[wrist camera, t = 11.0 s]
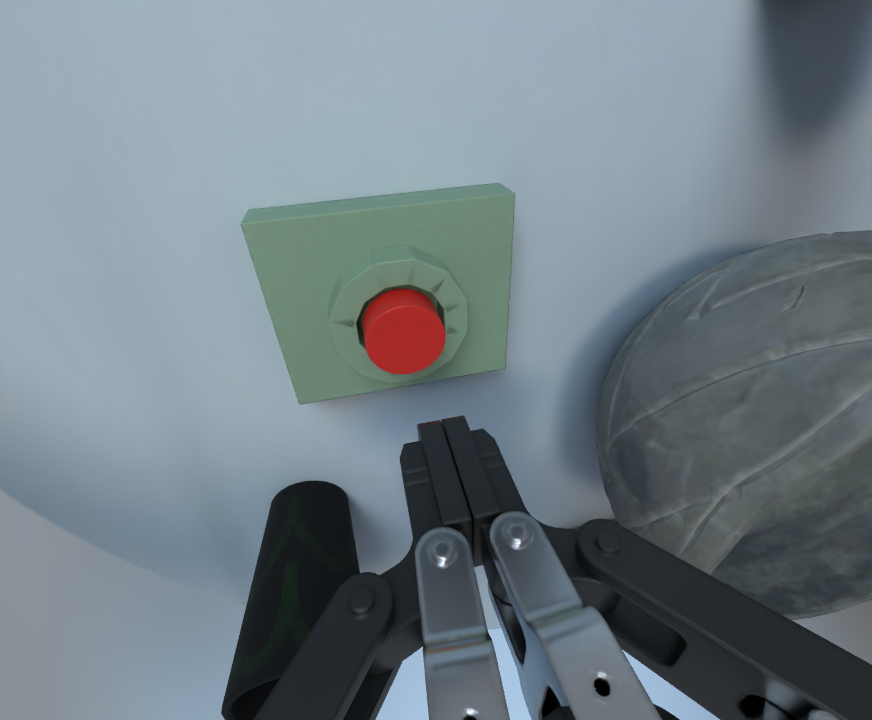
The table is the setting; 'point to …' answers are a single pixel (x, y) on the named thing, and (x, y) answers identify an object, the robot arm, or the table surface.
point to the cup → (289, 588)
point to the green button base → (384, 281)
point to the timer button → (403, 331)
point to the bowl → (754, 424)
